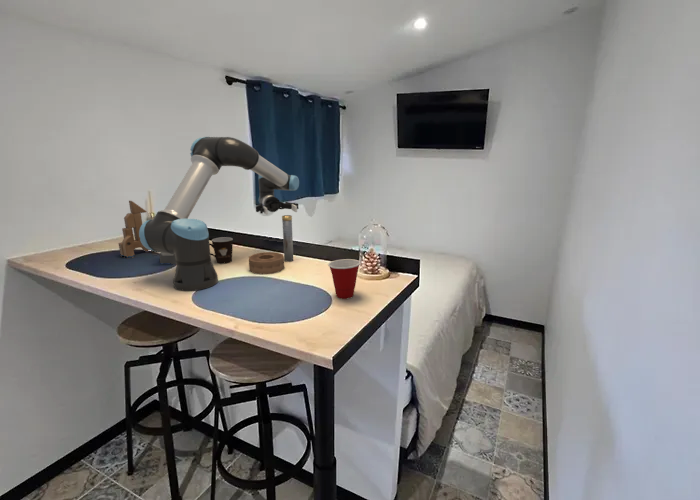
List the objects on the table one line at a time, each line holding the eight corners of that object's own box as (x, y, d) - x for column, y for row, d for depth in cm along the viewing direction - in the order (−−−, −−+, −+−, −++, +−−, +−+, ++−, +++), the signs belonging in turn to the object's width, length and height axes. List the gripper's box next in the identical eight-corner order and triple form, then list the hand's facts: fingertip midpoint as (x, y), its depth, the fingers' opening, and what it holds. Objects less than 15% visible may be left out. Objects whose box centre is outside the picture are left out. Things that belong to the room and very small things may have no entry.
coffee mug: (237, 258, 164) (235, 237, 161) (229, 264, 156) (227, 242, 153) (212, 258, 165) (210, 236, 162) (203, 263, 157) (201, 241, 154)
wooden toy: (126, 258, 164) (117, 203, 157) (120, 256, 168) (110, 202, 161) (161, 251, 176) (153, 199, 169) (154, 249, 179) (147, 198, 173)
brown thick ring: (285, 272, 147) (285, 260, 145) (249, 275, 143) (248, 263, 142) (282, 262, 160) (281, 251, 158) (249, 264, 156) (248, 253, 155)
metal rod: (294, 261, 161) (292, 216, 155) (284, 262, 160) (282, 217, 154) (293, 258, 165) (291, 214, 159) (283, 259, 164) (281, 215, 158)
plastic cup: (342, 287, 131) (342, 255, 128) (366, 294, 125) (367, 261, 122) (321, 296, 123) (321, 262, 120) (346, 304, 117) (346, 269, 113)
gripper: (295, 209, 190) (308, 216, 171) (246, 212, 180) (254, 220, 162) (295, 194, 188) (307, 200, 169) (245, 197, 178) (253, 203, 159)
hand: (281, 210), depth 165 cm, fingers open, 13 cm apart
